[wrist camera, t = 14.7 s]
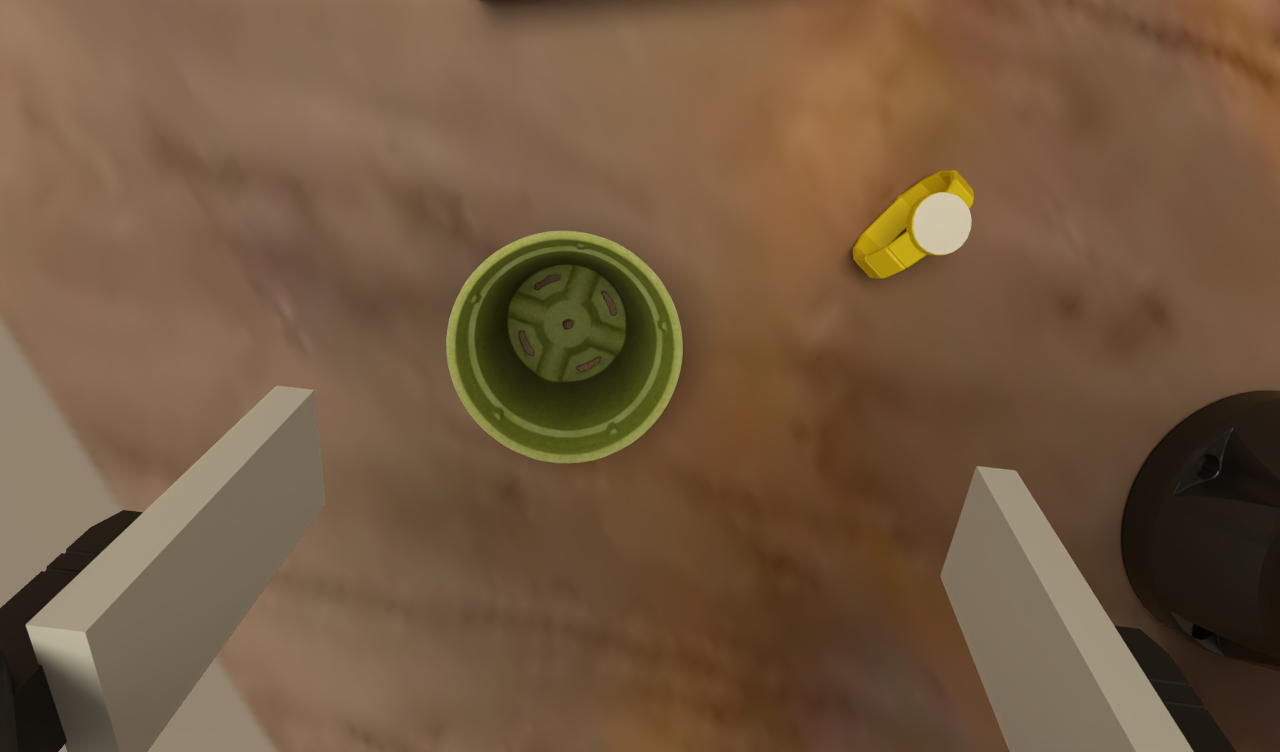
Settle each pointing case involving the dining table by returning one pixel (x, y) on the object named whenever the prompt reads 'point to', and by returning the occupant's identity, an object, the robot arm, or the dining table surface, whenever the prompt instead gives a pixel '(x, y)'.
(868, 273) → the watch
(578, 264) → the plant pot
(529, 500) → the dining table surface
